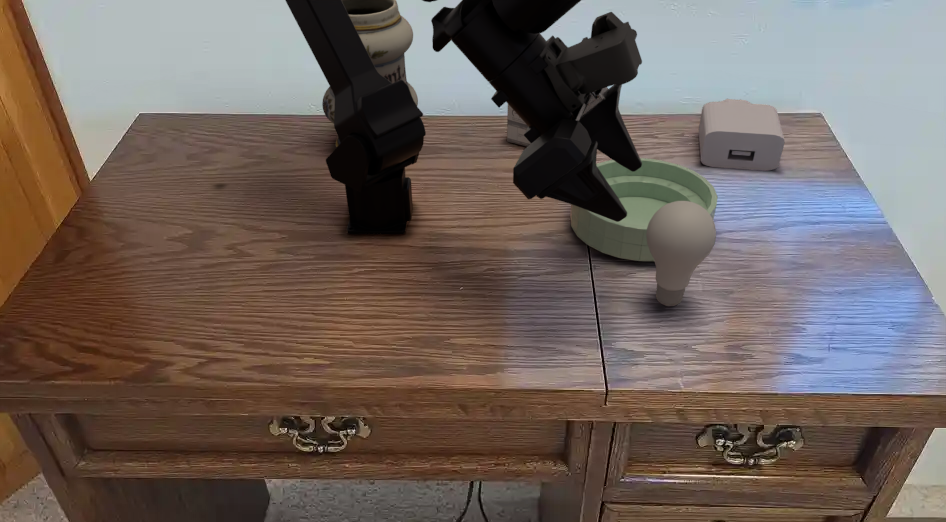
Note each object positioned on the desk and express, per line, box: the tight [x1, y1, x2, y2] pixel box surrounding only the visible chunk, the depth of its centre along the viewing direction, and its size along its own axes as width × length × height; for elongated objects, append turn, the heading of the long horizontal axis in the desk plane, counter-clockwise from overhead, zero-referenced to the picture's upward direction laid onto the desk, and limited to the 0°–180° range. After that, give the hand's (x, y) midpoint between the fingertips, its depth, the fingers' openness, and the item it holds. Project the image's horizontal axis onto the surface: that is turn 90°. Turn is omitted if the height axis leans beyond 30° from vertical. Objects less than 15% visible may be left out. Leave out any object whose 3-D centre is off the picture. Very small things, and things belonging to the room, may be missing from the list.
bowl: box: [569, 157, 718, 262], centre depth 87 cm, size 15×15×4 cm
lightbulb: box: [646, 201, 717, 307], centre depth 74 cm, size 6×6×11 cm
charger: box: [698, 98, 785, 172], centre depth 102 cm, size 5×9×15 cm
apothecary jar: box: [321, 0, 419, 148], centre depth 99 cm, size 12×12×18 cm
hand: (631, 192), depth 71 cm, fingers open, 9 cm apart
